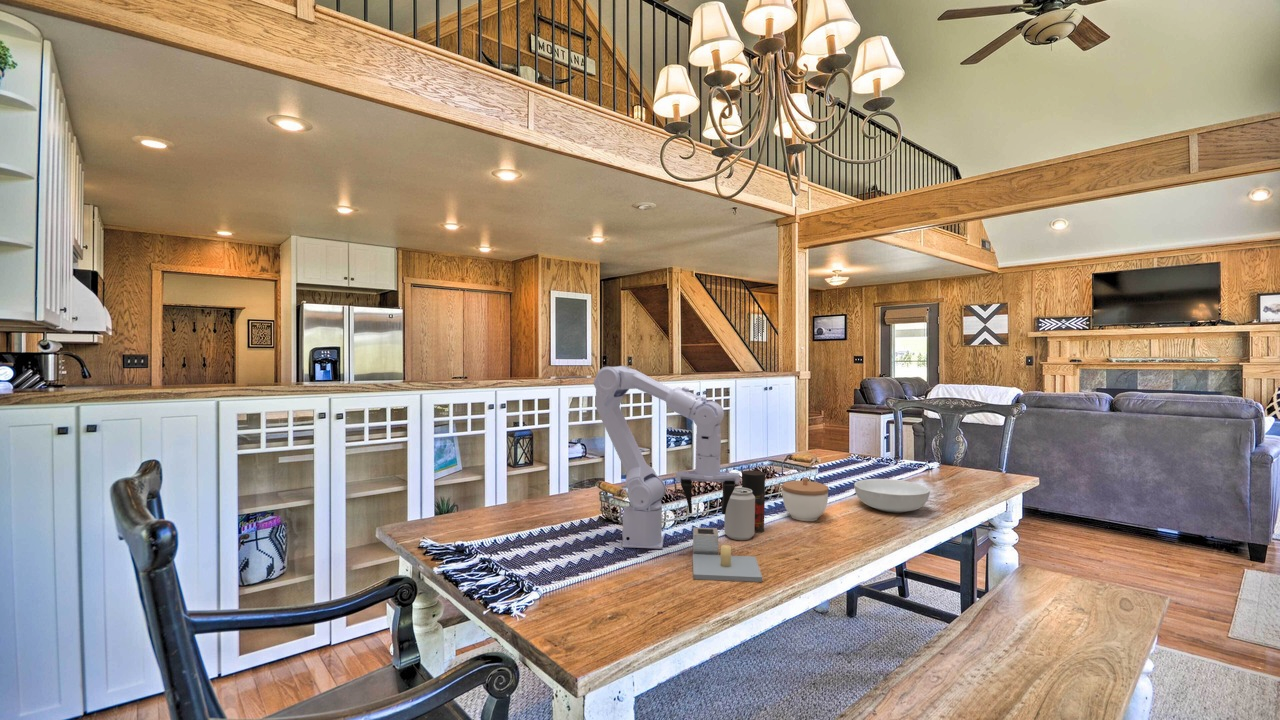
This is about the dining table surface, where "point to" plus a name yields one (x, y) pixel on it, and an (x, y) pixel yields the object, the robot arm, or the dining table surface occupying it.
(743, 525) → the can
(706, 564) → the post block
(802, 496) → the lidded bowl
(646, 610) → the dining table surface
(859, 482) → the serving bowl
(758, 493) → the deodorant
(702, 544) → the collar
